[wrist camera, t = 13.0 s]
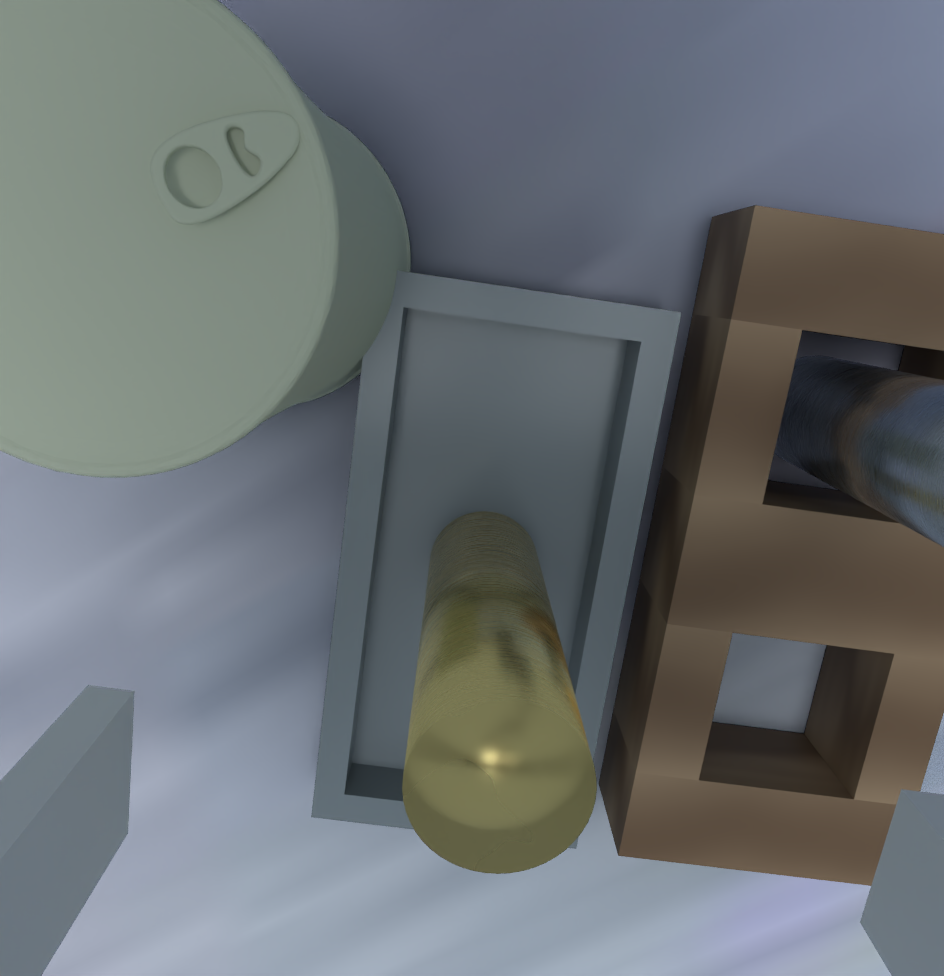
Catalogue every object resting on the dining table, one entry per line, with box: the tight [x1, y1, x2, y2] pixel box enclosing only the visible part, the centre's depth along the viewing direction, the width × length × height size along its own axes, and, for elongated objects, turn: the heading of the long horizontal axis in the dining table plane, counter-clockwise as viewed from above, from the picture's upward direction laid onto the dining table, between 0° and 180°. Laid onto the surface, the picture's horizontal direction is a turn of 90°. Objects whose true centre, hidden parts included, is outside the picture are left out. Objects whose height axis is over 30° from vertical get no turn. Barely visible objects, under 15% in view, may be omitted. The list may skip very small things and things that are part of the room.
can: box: [0, 0, 411, 477], centre depth 21 cm, size 9×9×12 cm
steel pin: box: [774, 356, 944, 547], centre depth 22 cm, size 4×4×13 cm
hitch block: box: [599, 205, 944, 886], centre depth 27 cm, size 20×9×4 cm, turn 172°
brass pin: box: [402, 511, 597, 874], centre depth 22 cm, size 4×4×13 cm
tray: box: [311, 270, 682, 849], centre depth 28 cm, size 18×9×2 cm, turn 172°
